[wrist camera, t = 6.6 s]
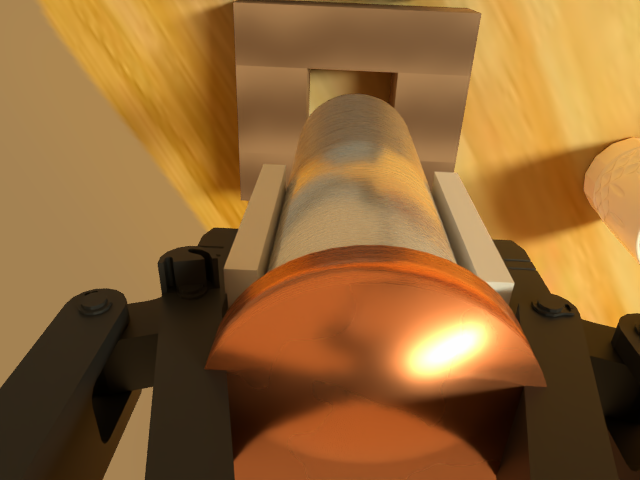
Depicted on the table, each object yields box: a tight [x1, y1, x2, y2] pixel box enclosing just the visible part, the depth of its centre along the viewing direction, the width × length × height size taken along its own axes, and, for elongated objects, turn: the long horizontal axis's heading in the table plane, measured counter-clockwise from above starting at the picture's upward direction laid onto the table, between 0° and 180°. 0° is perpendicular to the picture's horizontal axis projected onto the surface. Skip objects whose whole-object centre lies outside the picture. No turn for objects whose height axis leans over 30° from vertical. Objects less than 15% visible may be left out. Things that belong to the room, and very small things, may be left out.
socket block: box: [233, 0, 481, 201], centre depth 38 cm, size 14×16×4 cm
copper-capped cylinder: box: [204, 94, 547, 480], centre depth 16 cm, size 6×6×15 cm
